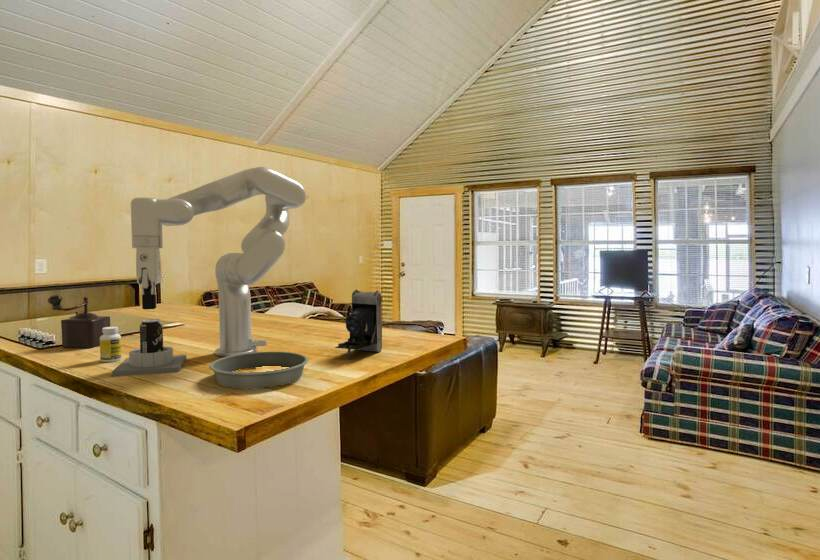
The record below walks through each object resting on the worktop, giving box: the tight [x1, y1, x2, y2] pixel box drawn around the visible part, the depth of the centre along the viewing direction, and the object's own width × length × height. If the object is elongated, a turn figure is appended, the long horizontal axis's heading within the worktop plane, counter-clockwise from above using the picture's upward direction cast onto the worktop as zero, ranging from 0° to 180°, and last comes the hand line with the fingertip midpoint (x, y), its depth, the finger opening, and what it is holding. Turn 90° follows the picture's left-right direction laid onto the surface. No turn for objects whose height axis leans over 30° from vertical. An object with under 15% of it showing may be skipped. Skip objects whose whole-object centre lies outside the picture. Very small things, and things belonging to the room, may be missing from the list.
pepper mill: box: [47, 294, 111, 350], centre depth 166 cm, size 16×11×18 cm
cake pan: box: [208, 351, 309, 389], centre depth 130 cm, size 25×25×4 cm
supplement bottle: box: [99, 326, 123, 363], centre depth 147 cm, size 5×5×10 cm
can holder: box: [111, 345, 188, 377], centre depth 140 cm, size 16×16×5 cm
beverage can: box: [139, 318, 164, 353], centre depth 140 cm, size 6×6×12 cm
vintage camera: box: [334, 289, 383, 360], centre depth 155 cm, size 10×16×20 cm, turn 158°
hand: (149, 308), depth 139 cm, fingers closed
